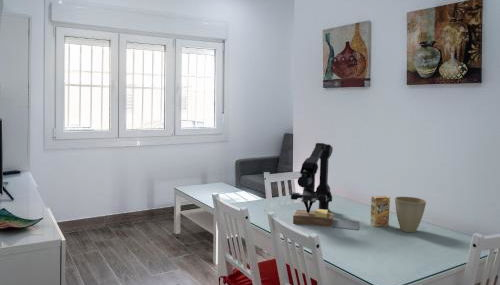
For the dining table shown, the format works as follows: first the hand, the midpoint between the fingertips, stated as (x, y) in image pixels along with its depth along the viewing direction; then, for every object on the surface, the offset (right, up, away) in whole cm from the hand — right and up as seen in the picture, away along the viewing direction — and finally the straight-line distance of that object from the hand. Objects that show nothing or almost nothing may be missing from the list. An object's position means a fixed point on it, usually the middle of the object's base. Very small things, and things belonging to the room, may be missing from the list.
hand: (308, 212), depth 229 cm
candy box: (+37, -6, -4) cm, 38 cm away
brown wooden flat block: (+3, -5, 0) cm, 5 cm away
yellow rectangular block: (+7, -1, -2) cm, 7 cm away
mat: (+19, -5, -5) cm, 20 cm away
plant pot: (+49, -7, -12) cm, 51 cm away
